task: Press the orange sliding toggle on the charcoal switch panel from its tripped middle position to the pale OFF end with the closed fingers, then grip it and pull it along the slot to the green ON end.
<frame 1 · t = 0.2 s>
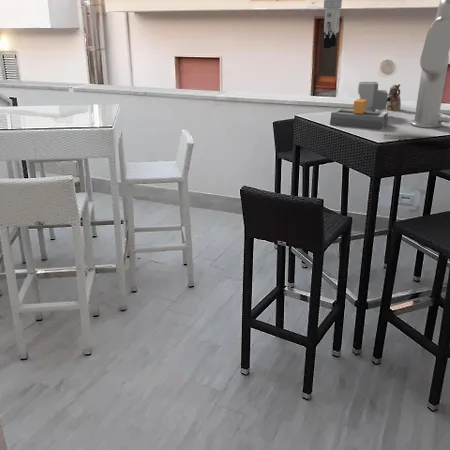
hand: (329, 47, 216), 31 cm above the table, tool pointing down, fingers open, 9 cm apart
switch panel: (358, 124, 212), on the table
figurine: (392, 109, 241), on the table
toggle: (359, 108, 210), point 7 cm above the table, slide at 0.0 cm
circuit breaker: (371, 116, 228), on the table
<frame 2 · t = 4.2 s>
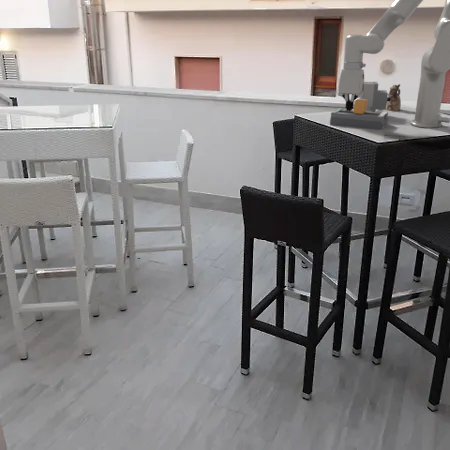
hand: (349, 110, 212), 6 cm above the table, tool pointing down, fingers closed
toggle: (360, 108, 209), point 7 cm above the table, slide at -0.2 cm, touching gripper
everything else where it was.
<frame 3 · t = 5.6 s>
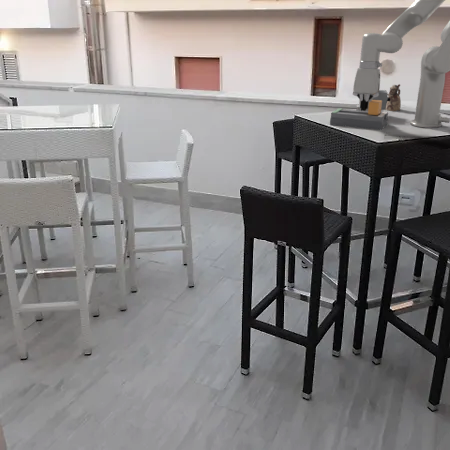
hand: (363, 110, 209), 6 cm above the table, tool pointing down, fingers closed
toggle: (374, 109, 207), point 7 cm above the table, slide at -6.3 cm, touching gripper
everything else where it was.
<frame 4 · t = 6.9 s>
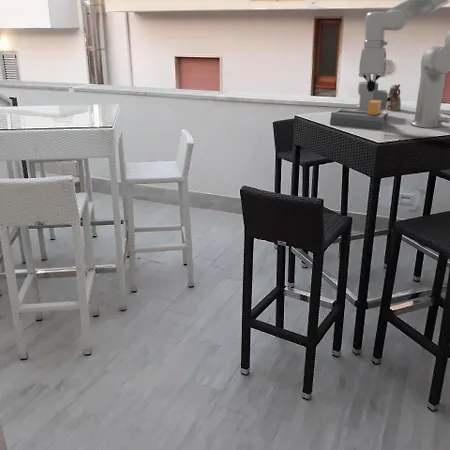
hand: (370, 91, 205), 14 cm above the table, tool pointing down, fingers closed
toggle: (374, 109, 207), point 7 cm above the table, slide at -6.0 cm
everything else where it was.
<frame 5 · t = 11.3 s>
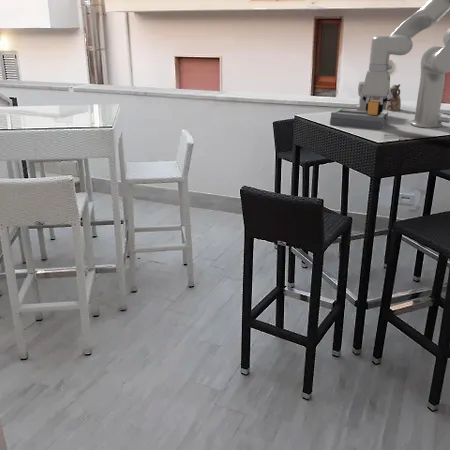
hand: (373, 112, 207), 6 cm above the table, tool pointing down, fingers closed on toggle, 4 cm apart
toggle: (374, 109, 207), point 7 cm above the table, slide at -6.0 cm, touching gripper
everything else where it was.
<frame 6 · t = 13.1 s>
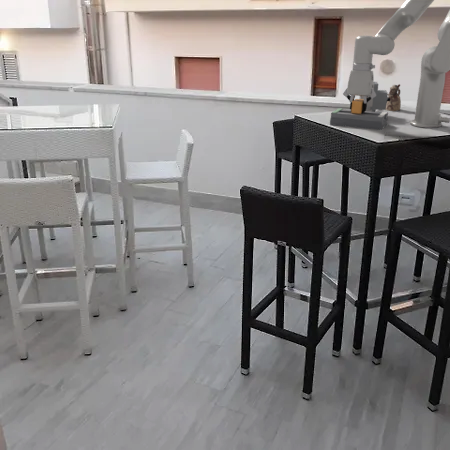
hand: (357, 111, 210), 6 cm above the table, tool pointing down, fingers closed on toggle, 4 cm apart
toggle: (358, 108, 210), point 7 cm above the table, slide at 0.8 cm, touching gripper
everything else where it was.
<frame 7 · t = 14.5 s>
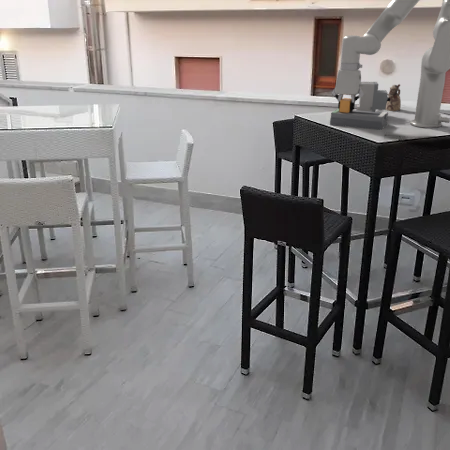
hand: (345, 110, 213), 6 cm above the table, tool pointing down, fingers closed on toggle, 4 cm apart
toggle: (346, 107, 212), point 7 cm above the table, slide at 6.0 cm, touching gripper
everything else where it was.
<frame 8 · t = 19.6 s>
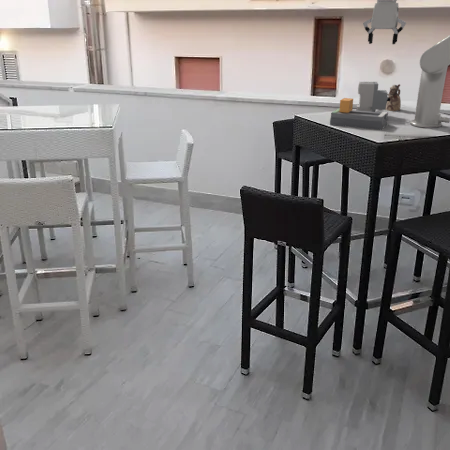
hand: (382, 43, 206), 32 cm above the table, tool pointing down, fingers open, 9 cm apart
toggle: (346, 107, 212), point 7 cm above the table, slide at 6.0 cm
everything else where it was.
at the end: toggle slide at 6.0 cm; the gripper is holding nothing; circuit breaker moved 0.2 cm from its start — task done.
